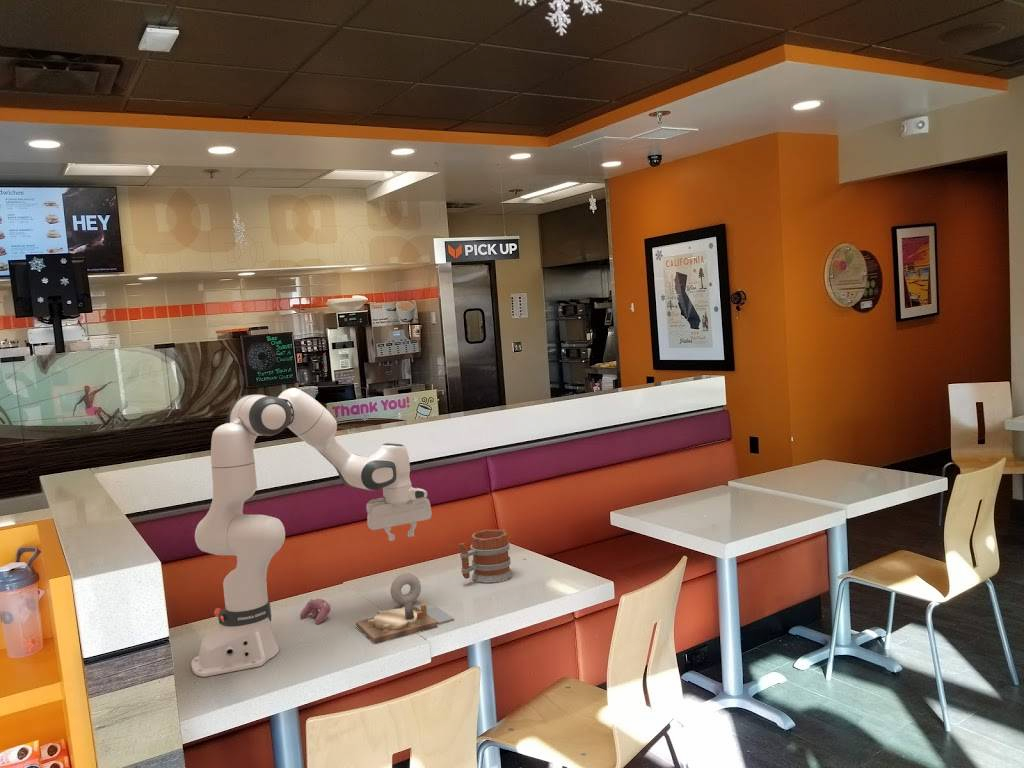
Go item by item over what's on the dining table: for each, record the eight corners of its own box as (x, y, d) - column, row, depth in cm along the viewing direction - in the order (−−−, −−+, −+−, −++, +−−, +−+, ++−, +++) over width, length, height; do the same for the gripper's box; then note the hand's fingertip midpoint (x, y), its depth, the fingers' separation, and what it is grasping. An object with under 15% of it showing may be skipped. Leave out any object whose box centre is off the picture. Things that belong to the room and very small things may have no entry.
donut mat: (438, 624, 233) (438, 622, 233) (421, 612, 244) (421, 610, 244) (454, 620, 235) (454, 618, 235) (436, 608, 247) (436, 606, 246)
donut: (394, 610, 248) (391, 578, 247) (390, 607, 251) (387, 575, 250) (424, 602, 252) (421, 571, 252) (419, 599, 255) (417, 569, 255)
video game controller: (328, 626, 242) (335, 603, 244) (316, 624, 239) (323, 600, 241) (309, 620, 249) (316, 597, 251) (297, 617, 246) (304, 594, 248)
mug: (521, 575, 272) (518, 532, 271) (476, 590, 260) (472, 545, 259) (495, 568, 283) (492, 526, 282) (451, 582, 271) (447, 538, 270)
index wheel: (402, 634, 223) (400, 614, 222) (357, 628, 230) (356, 609, 230) (432, 615, 236) (431, 596, 236) (390, 609, 244) (388, 591, 243)
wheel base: (374, 643, 222) (373, 628, 221) (356, 626, 236) (354, 611, 235) (437, 627, 231) (436, 611, 231) (416, 611, 245) (415, 597, 245)
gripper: (369, 502, 241) (373, 547, 242) (431, 490, 251) (435, 534, 252) (362, 498, 247) (366, 543, 248) (423, 487, 256) (427, 530, 258)
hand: (401, 538), depth 250 cm, fingers open, 5 cm apart
